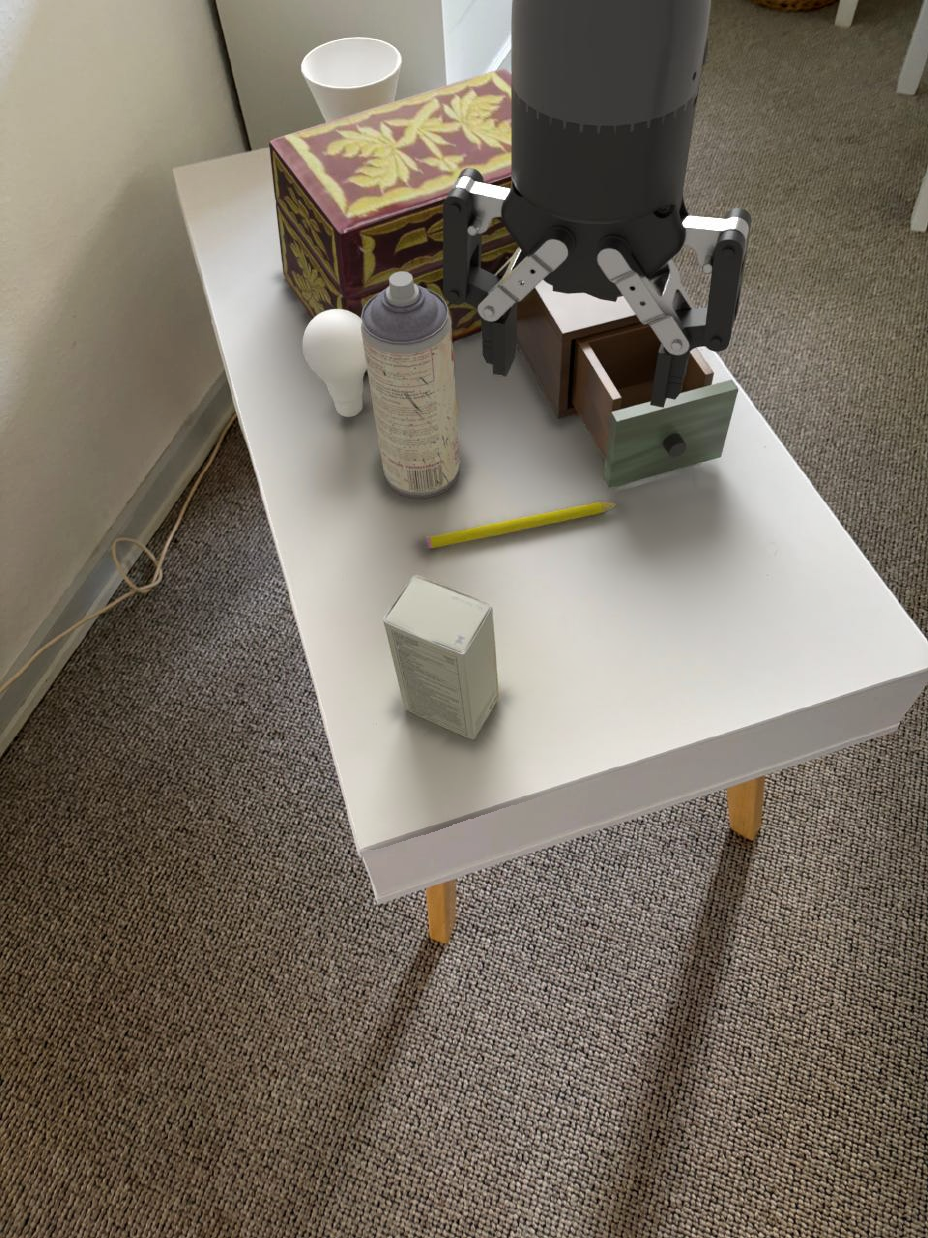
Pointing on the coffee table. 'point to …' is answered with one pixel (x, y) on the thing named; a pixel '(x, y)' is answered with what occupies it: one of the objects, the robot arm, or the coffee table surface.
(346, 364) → the lightbulb
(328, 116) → the cup
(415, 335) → the aerosol can
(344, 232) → the decorative box
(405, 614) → the cosmetic box
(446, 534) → the pencil
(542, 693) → the coffee table surface
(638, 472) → the drawer
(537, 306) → the cabinet
